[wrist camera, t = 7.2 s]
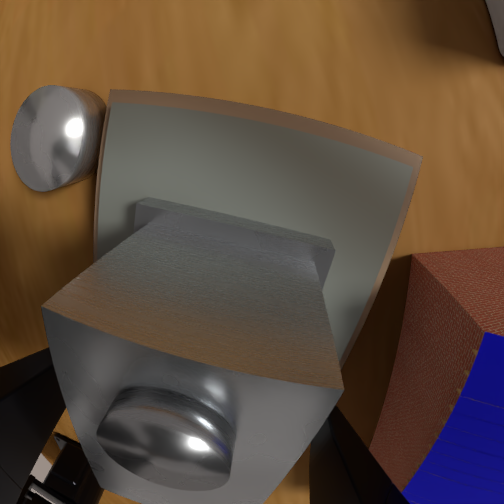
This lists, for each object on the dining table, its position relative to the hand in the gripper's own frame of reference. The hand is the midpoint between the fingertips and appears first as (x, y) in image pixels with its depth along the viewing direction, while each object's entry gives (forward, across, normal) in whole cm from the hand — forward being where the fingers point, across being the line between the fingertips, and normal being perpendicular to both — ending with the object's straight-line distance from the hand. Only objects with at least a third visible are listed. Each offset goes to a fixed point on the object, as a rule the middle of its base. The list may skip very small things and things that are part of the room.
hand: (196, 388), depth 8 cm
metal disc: (+6, +8, -6) cm, 12 cm away
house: (+6, -16, +3) cm, 17 cm away
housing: (+3, 0, 0) cm, 3 cm away
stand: (+6, 0, 0) cm, 6 cm away
